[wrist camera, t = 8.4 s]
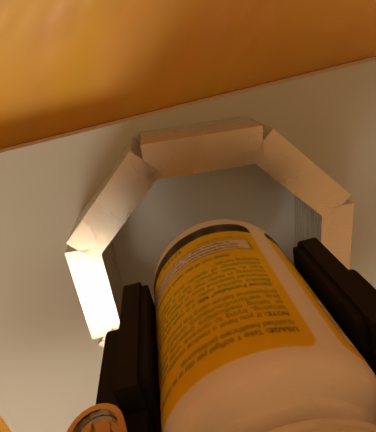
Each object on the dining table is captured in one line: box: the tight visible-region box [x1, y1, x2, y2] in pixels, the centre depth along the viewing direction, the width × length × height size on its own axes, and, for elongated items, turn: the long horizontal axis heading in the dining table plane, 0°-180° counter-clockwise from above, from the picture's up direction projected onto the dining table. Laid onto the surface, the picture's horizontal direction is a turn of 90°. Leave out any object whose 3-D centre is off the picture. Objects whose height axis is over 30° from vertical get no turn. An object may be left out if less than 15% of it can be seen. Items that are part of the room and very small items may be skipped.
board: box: [0, 56, 376, 432], centre depth 13 cm, size 21×17×10 cm
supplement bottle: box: [154, 219, 376, 432], centre depth 9 cm, size 5×5×8 cm
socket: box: [65, 116, 354, 347], centre depth 14 cm, size 10×10×2 cm
